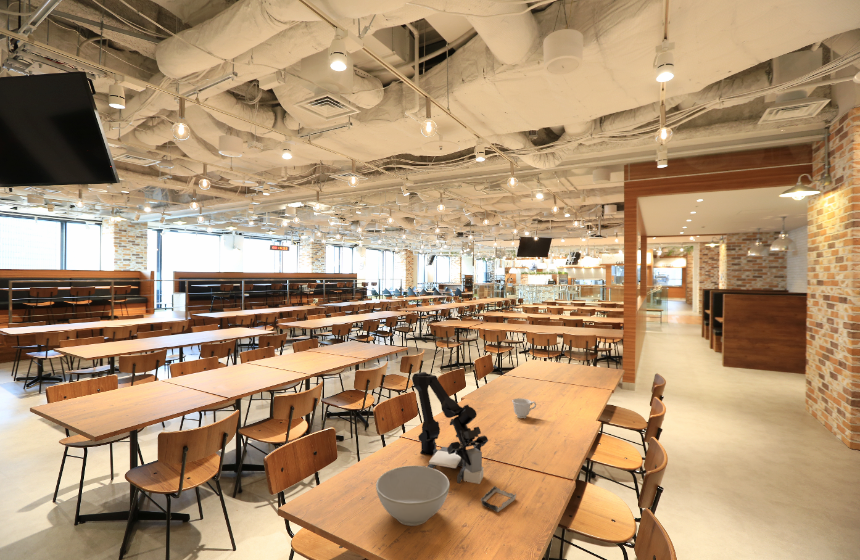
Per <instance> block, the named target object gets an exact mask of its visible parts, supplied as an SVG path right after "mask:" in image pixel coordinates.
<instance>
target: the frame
mask: <svg viewBox="0 0 860 560" xmlns="http://www.w3.org/2000/svg"><path fill="white" fill-rule="evenodd" d="M437 450H438V448H436V449H434V450H433V455H432V457H433V456H434V455H435V453H436V452H437ZM436 466H437V465H433V464H429V463H428V465H427V466H426V467H430V468H434V469H435V468H436ZM465 469H466V462H465V461H464V465H463V467H462V466H461V468H460V470H459V472H458V474H457V476H456V483H457V484H461V482H462V481H463V480H464V470H465ZM461 480H462V481H461Z"/></svg>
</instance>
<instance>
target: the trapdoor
mask: <svg viewBox="0 0 860 560" xmlns="http://www.w3.org/2000/svg"><path fill="white" fill-rule="evenodd" d="M447 448H448V446H442V447H441V448H439V449H437V452H436V453H435V455H434V456H433V455H432V457H431V458H430V460H429V461H428V465H429V464H433V465H436V466H440V467H445V468H452V469H457V467H461V468H462V467H463V465H464V460H463V459H462V458H461V457H460V456H459V455H456V454H455V453H456V451H455V453H453V454H448V451H447Z"/></svg>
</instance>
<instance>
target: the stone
mask: <svg viewBox="0 0 860 560" xmlns="http://www.w3.org/2000/svg"><path fill="white" fill-rule="evenodd" d="M466 452H467V455H468V457H469V459H470V462H471V465H470V466H469V465H468V464H467V463H466V469H467V470H469V471H470V472H471V473H475V472H478V471H482V467H483V466H482V465H483V452H482V450H481V451H480V450H478V449H477V448H474V447H472V448H468V449H467V448H466Z"/></svg>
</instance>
